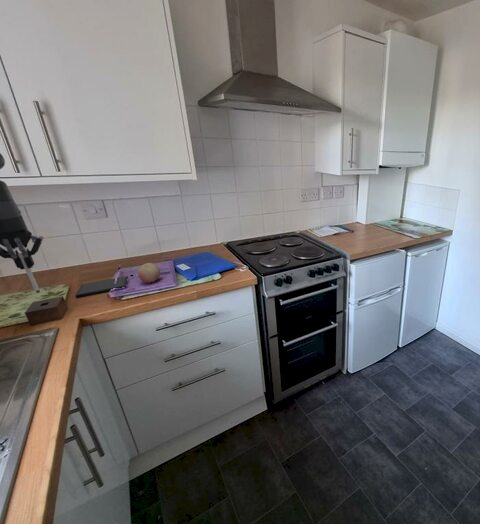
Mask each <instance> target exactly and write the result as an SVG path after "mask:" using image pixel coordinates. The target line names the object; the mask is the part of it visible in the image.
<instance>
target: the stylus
mask: <svg viewBox="0 0 480 524" xmlns="http://www.w3.org/2000/svg"><path fill="white" fill-rule="evenodd" d="M18 256H19V258H20V260H21V262H22V264H23V266H24V268H25V269H24V270H25V273H26V275H27V277H28V279H29V281H30V284H31V287H32V288H33V289H34V291H35V293H36V294H38V293H40V292H41V290H40V286H39V285H38V283H37V280H36V278H35V276H34V273H33V272H32V268H28V267H27V265H26V263H25V261H24V259H23V258H24V257H23V255H22V253H21V252H19V254H18Z"/></svg>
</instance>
